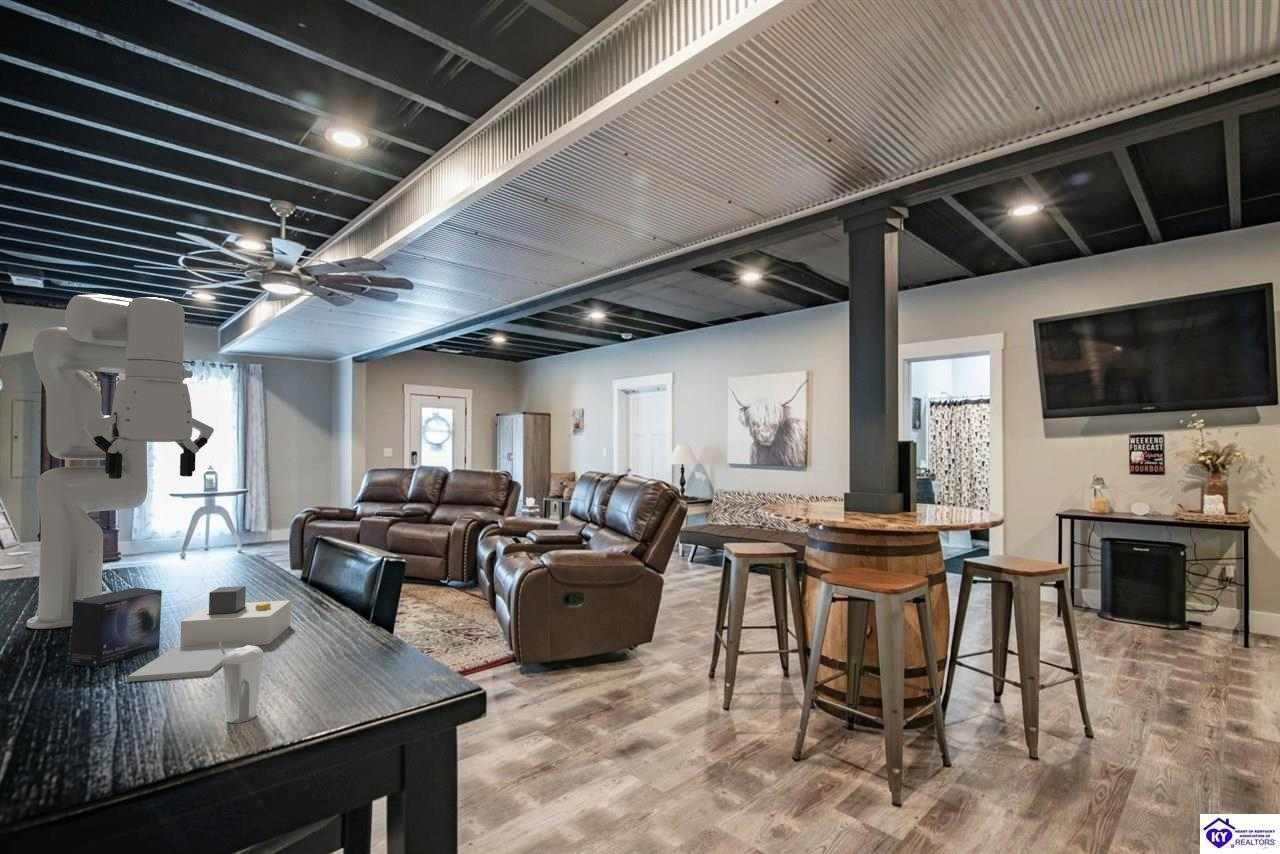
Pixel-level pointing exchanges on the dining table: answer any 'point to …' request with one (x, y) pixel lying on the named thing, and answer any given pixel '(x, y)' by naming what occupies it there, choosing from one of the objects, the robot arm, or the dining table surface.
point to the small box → (115, 626)
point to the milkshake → (242, 682)
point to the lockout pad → (184, 662)
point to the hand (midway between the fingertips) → (151, 477)
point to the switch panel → (237, 625)
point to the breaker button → (227, 600)
